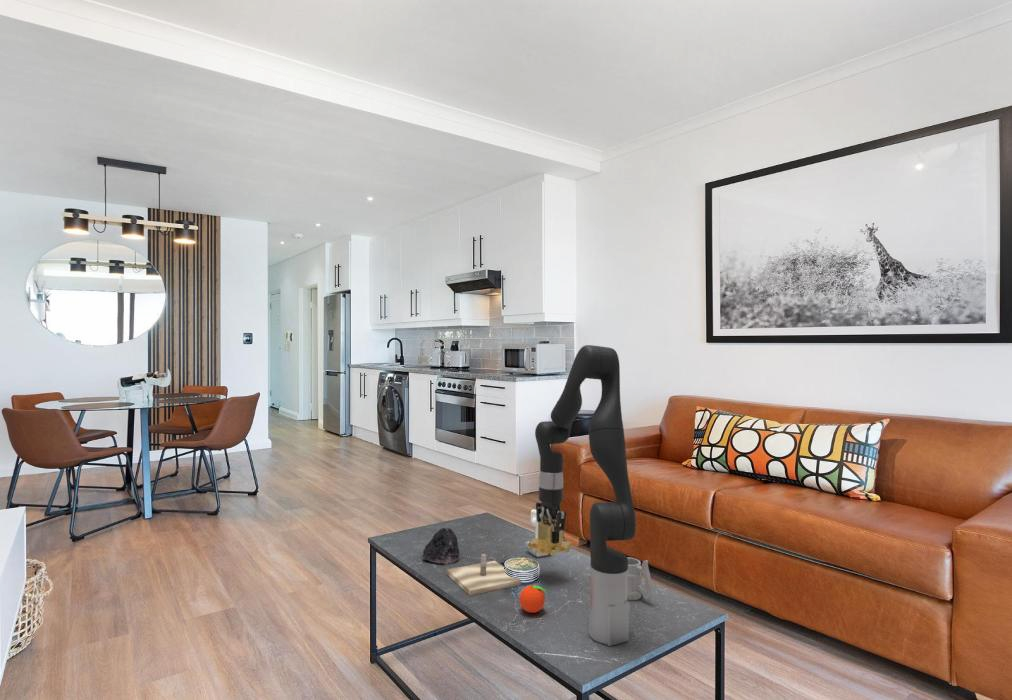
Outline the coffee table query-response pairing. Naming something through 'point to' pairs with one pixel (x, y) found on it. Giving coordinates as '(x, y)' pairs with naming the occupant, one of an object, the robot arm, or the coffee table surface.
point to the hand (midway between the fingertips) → (549, 540)
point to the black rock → (442, 547)
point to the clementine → (532, 598)
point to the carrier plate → (482, 577)
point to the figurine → (535, 523)
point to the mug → (638, 579)
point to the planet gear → (548, 540)
